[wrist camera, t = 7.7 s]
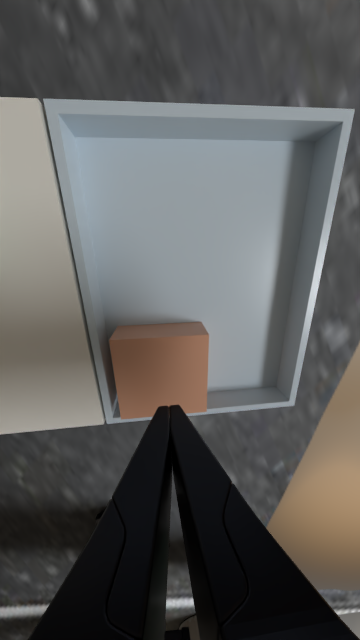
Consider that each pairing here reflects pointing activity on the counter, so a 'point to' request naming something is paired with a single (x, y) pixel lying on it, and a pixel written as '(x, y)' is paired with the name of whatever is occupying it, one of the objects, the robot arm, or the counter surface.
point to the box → (202, 231)
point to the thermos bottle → (192, 627)
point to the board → (39, 287)
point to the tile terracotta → (160, 367)
